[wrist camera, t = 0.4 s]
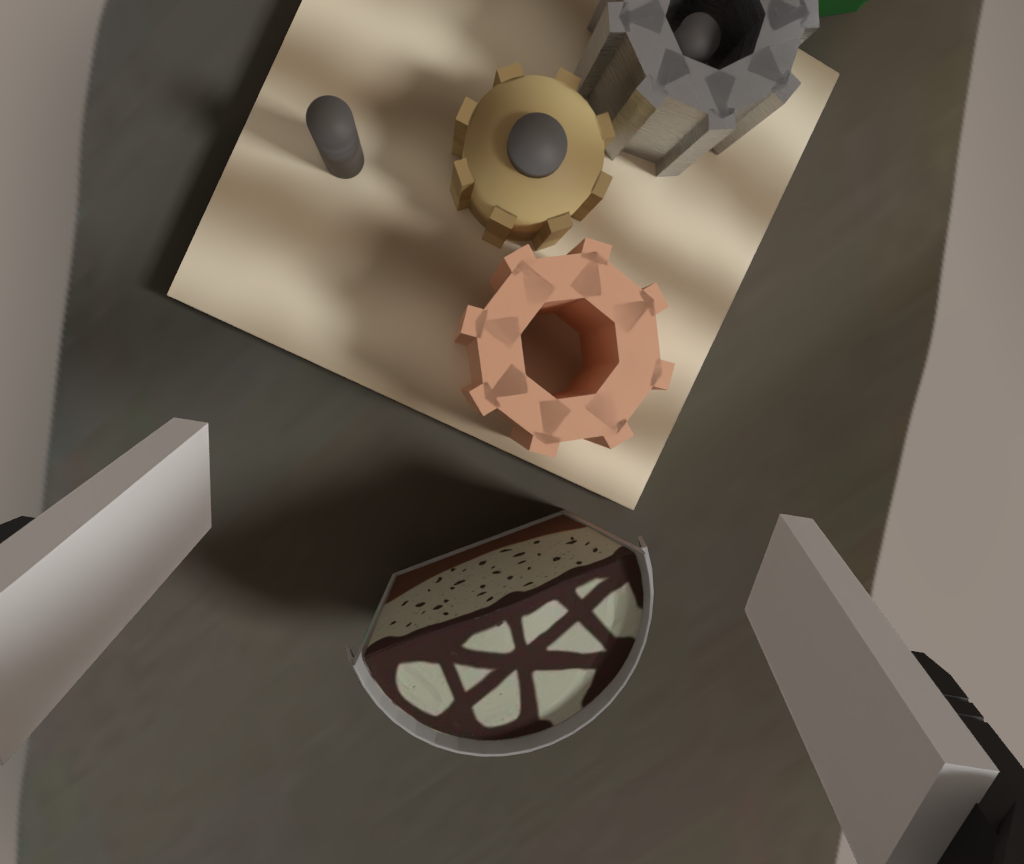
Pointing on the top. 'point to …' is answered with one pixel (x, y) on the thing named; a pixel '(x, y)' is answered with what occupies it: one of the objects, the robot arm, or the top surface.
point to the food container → (509, 637)
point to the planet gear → (603, 337)
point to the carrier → (473, 207)
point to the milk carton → (838, 6)
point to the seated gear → (690, 74)
